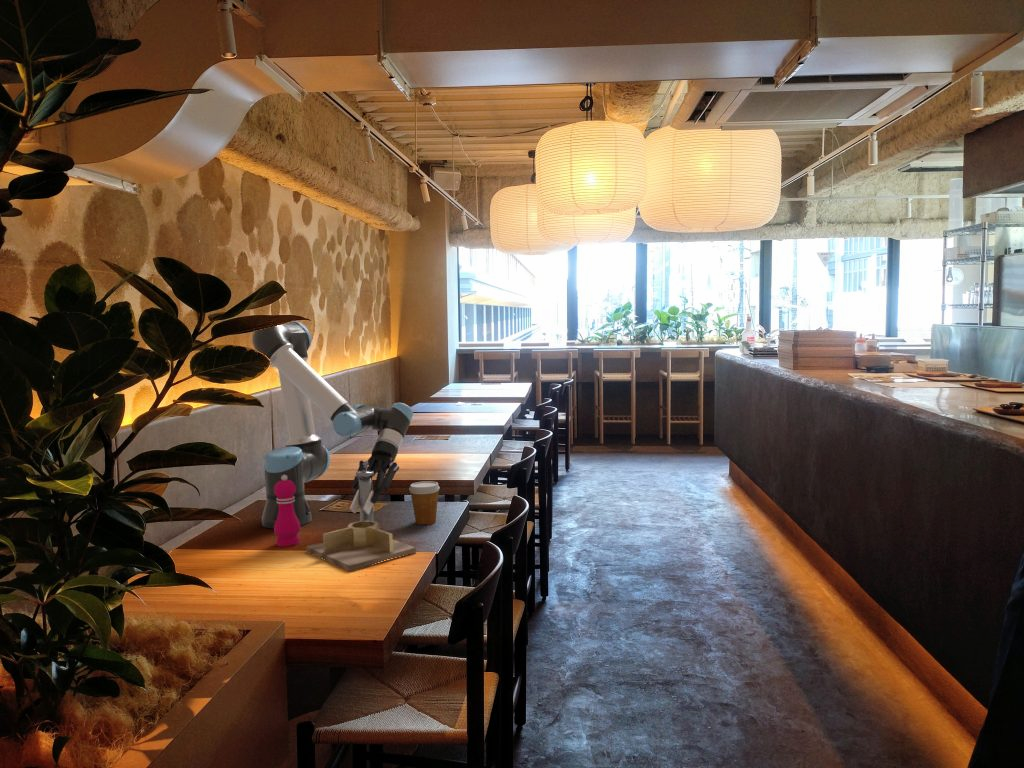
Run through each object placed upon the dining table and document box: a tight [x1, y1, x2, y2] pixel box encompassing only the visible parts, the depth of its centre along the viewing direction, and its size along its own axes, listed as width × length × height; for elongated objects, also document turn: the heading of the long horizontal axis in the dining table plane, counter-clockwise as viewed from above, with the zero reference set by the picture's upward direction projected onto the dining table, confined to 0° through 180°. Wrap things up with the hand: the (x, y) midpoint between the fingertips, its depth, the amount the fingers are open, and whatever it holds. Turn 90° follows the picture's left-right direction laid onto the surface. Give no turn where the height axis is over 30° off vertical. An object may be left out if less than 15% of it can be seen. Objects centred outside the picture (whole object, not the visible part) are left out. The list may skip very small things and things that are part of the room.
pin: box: [355, 469, 375, 521], centre depth 214 cm, size 5×5×18 cm
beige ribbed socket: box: [322, 520, 394, 553], centre depth 192 cm, size 18×16×5 cm
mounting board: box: [305, 539, 417, 572], centre depth 195 cm, size 24×20×2 cm
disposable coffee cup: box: [409, 481, 441, 526], centre depth 223 cm, size 10×10×12 cm
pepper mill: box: [273, 475, 301, 548], centre depth 204 cm, size 7×7×20 cm
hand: (359, 511), depth 211 cm, fingers closed on pin, 4 cm apart
